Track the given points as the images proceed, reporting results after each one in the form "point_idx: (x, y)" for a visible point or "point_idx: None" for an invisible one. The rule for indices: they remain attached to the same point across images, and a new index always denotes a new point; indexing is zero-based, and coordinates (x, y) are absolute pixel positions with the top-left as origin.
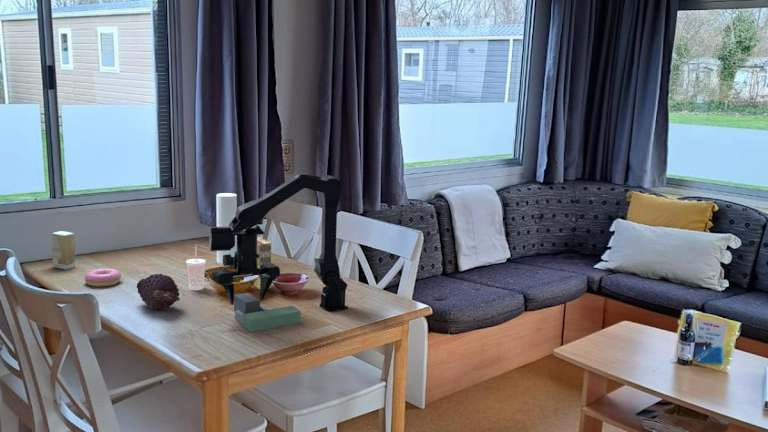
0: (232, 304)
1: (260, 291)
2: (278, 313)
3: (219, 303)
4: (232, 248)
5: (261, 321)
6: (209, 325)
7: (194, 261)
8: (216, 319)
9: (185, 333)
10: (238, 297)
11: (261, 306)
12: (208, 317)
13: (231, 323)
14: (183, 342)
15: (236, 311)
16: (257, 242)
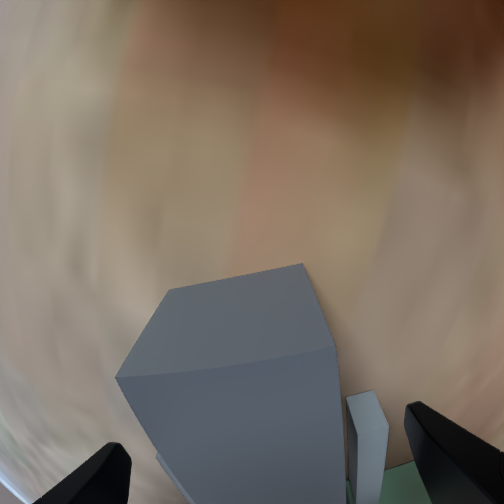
0: (127, 464)
1: (439, 459)
2: None
3: (86, 68)
4: None
5: None
6: (56, 439)
7: None
8: (68, 395)
9: (9, 450)
10: (169, 457)
11: (369, 431)
12: (26, 351)
13: (149, 462)
14: (31, 488)
15: (166, 467)
16: None
